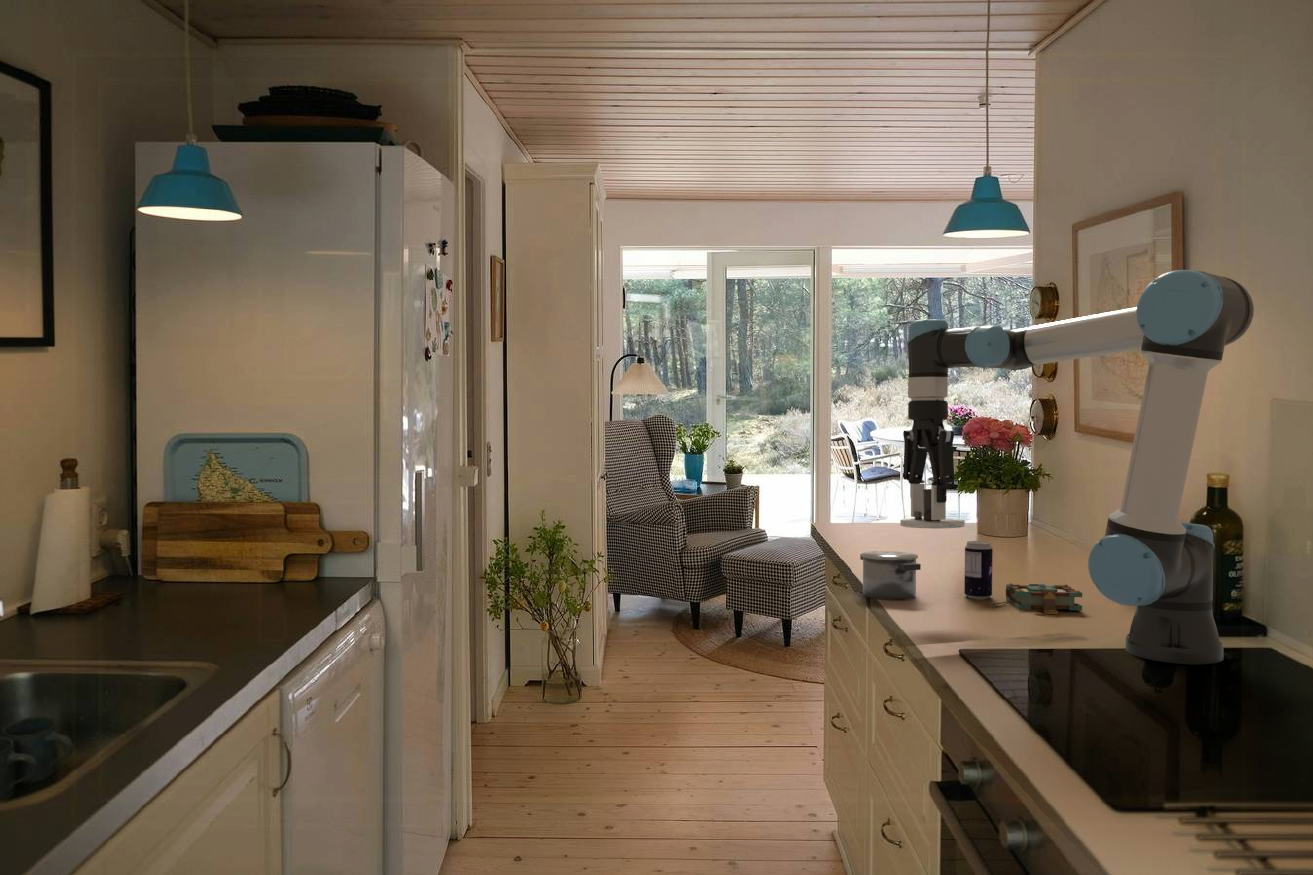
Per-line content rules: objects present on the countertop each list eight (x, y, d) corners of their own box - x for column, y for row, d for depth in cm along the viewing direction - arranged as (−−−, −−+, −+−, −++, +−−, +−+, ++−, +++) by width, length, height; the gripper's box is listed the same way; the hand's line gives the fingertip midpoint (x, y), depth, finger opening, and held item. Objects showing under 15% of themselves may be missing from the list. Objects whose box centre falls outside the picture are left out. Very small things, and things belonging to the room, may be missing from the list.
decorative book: (980, 601, 218) (981, 577, 218) (1065, 602, 217) (1065, 579, 216) (997, 613, 205) (997, 588, 204) (1087, 614, 203) (1087, 589, 203)
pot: (891, 588, 231) (891, 548, 231) (936, 601, 215) (936, 558, 215) (844, 591, 227) (844, 550, 227) (887, 604, 211) (887, 561, 211)
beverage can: (993, 600, 216) (994, 544, 215) (965, 599, 217) (966, 543, 217) (990, 596, 221) (990, 541, 221) (963, 595, 222) (963, 540, 222)
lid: (978, 526, 195) (977, 489, 195) (929, 529, 189) (928, 491, 189) (935, 521, 205) (934, 487, 205) (887, 524, 200) (887, 489, 200)
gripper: (975, 398, 191) (975, 521, 191) (916, 400, 209) (916, 513, 209) (940, 398, 188) (940, 523, 189) (884, 400, 206) (884, 514, 207)
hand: (928, 517), depth 199 cm, fingers closed on lid, 6 cm apart
